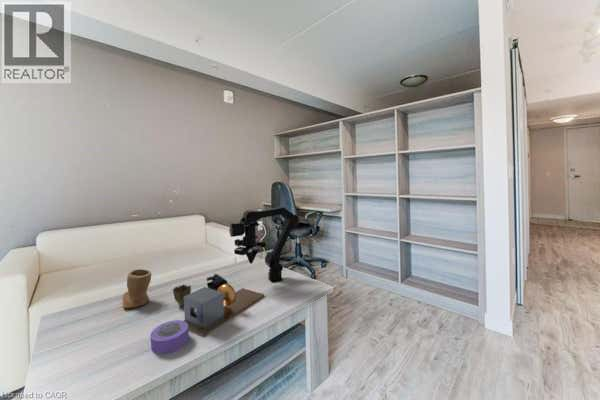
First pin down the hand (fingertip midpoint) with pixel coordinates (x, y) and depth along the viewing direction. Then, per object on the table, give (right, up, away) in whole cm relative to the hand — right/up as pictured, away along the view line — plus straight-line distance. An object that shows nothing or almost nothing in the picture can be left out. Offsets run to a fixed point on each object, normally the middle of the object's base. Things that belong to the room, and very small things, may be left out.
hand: (251, 263), depth 135 cm
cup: (-27, -14, -19) cm, 36 cm away
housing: (-6, -14, -24) cm, 28 cm away
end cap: (-17, -13, -4) cm, 21 cm away
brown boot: (-50, -14, -16) cm, 54 cm away
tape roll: (-20, -17, -46) cm, 53 cm away
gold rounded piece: (-10, -13, -30) cm, 34 cm away
